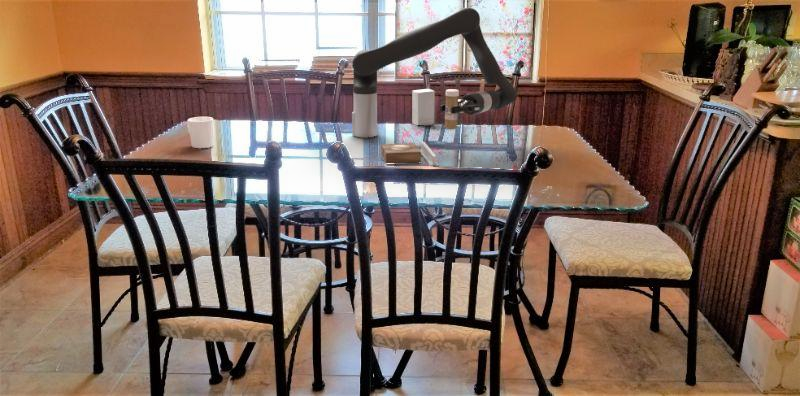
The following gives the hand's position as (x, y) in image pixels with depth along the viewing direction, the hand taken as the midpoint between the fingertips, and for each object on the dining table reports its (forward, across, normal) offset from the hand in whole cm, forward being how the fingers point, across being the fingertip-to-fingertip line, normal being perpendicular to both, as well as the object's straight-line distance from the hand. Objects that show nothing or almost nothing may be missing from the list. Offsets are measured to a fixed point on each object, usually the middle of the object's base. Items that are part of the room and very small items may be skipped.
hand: (446, 109), depth 217 cm
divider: (+4, -4, +18) cm, 18 cm away
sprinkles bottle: (-3, 0, +7) cm, 8 cm away
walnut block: (+12, -10, +18) cm, 23 cm away
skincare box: (-35, -42, +18) cm, 57 cm away
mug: (+52, -75, +18) cm, 93 cm away
